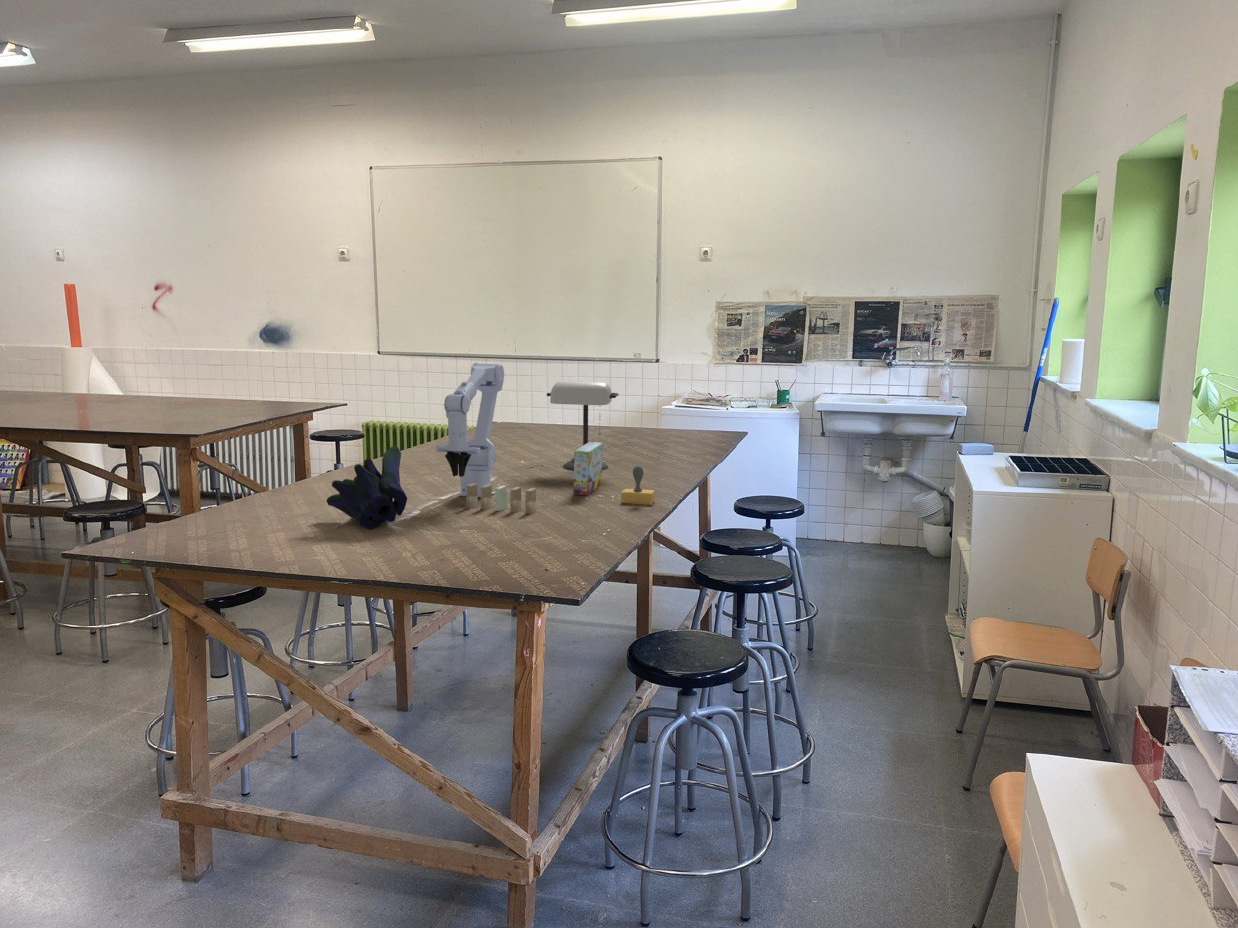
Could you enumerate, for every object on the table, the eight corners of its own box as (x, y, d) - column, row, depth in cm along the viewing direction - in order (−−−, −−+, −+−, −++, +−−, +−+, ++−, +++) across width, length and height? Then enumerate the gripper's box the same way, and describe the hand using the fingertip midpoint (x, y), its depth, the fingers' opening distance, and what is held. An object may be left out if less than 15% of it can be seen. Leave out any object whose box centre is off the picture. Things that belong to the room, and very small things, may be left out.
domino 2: (481, 509, 276) (480, 487, 275) (487, 506, 280) (487, 484, 279) (485, 509, 276) (485, 487, 275) (492, 506, 280) (491, 484, 279)
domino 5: (525, 513, 272) (525, 490, 270) (531, 510, 276) (531, 488, 275) (530, 513, 271) (530, 491, 270) (536, 510, 275) (536, 488, 274)
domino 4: (510, 511, 273) (510, 489, 272) (516, 508, 277) (516, 486, 276) (515, 512, 273) (515, 489, 271) (521, 509, 277) (521, 487, 276)
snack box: (589, 496, 297) (589, 451, 294) (572, 495, 298) (572, 450, 295) (602, 483, 317) (603, 441, 315) (587, 483, 319) (587, 441, 316)
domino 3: (495, 510, 275) (495, 488, 274) (502, 507, 279) (502, 485, 278) (500, 510, 274) (500, 488, 273) (506, 507, 278) (506, 485, 277)
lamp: (542, 472, 336) (542, 382, 330) (557, 461, 360) (557, 377, 354) (612, 475, 332) (612, 384, 326) (622, 464, 356) (623, 379, 350)
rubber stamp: (620, 503, 287) (621, 466, 285) (624, 499, 292) (624, 463, 290) (651, 505, 285) (652, 468, 283) (654, 501, 290) (655, 464, 288)
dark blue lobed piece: (357, 561, 251) (332, 513, 275) (441, 519, 259) (410, 475, 282) (327, 505, 240) (304, 459, 263) (416, 462, 247) (385, 421, 270)
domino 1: (466, 507, 278) (466, 485, 277) (473, 504, 282) (472, 483, 281) (471, 508, 277) (470, 486, 276) (477, 505, 281) (477, 483, 280)
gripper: (430, 433, 275) (431, 476, 278) (472, 435, 271) (473, 479, 273) (441, 430, 282) (442, 472, 284) (483, 432, 278) (484, 475, 280)
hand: (458, 476), depth 279 cm, fingers closed
